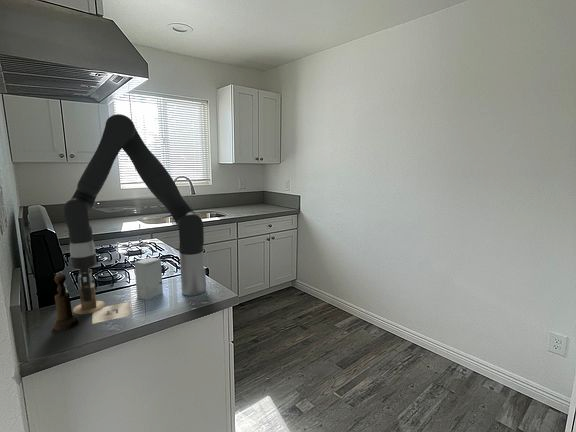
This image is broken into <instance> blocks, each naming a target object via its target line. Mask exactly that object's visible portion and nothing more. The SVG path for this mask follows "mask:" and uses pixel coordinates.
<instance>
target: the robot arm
mask: <svg viewBox="0 0 576 432" xmlns="http://www.w3.org/2000/svg"><path fill="white" fill-rule="evenodd" d="M121 150H123V151H124V152H125V154H126V155H127V157H128V158H129V159H130V160H131V163H132V164H133V167H134V168H135V170H136V172H137V174H138V175H139V177H140V179H141V181H143V183H144V185H145V186H146V187H147V189H148V190H149V191H150V192H151V193H152V194H153V196H154V198H156V199H157V200H158V201H159V202H160V203H161V204H162V205H163V206H164V207H165V208H166V210H168V212H169V214H170V216H171V217H172V219H173V220H174V223H175V224H176V226H177V228H178V235H179V246H178V251H179V267H180V268H179V269H180V283H181V285H180V286H181V294H182V295H183V296H187V297H188V296H189V297H193V296H199V295H201V294H203V293H206V292H207V277H206V271H207V270H206V269H205V264H204V263H205V262H204V261H205V259H204V244H205V240H204V239H205V238H204V223H203V220H202V218H201V217H200V216H199V215H198V214H197V213H196V212H195V211H194V210H193V209H192V208H191V206H189V204H188V203H187V202H186V201H185V200H184V198H183V197H182V194H181V192H180V190H179V188H178V186H177V184H176V183H175V181H174V179H173V178H172V176H171V174H170V173H169V172H168V169H166V168H165V166H164V165H163V163H162V162H161V161H160V160H159V159H158V158H157V157H156V156H155V155H154V153H153V152H152V151H151V150H150V149H149V147H147V145H146V144H145V142H144V140H143V139H142V137H141V135H140V134H139V132H138V130H137V128H136V126H135V124H134V122H133V120H132V119H131V118H130V117H128V116H127V115H125V114H121V113H116V114H112V115H110V116H109V117H108V118H107V119H106V121H105V127H104V130H103V132H102V135H101V139H100V141H99V144H98V146H97V148H96V150H95V152H94V154H93V156H92V158H91V159H90V161H89V162H88V164H87V165H86V167H85V169H84V171H83V173H82V175H81V177H80V178H79V180H78V182H77V185H76V190H75V192H74V193H73V195H72V197H71V198H70V199H69V200H67V201H66V202H65V204H64V205H63V215H64V216H63V217H64V220H65V224H66V227H67V229H68V239H69V254H70V262H71V268H72V269H74V270H78V278H79V284H80V285H81V286H82V292H83V294H84V301H85V302H88V301H91V300H92V298H91V286H90V285H91V284H92V283H93V281H92V279H93V277H92V276H93V269H91V268H93V267H94V266H95V267H96V265H97V256H96V245H95V242H94V237H93V229H92V226H91V224H90V221H89V220H90V219H89V214H90V212H91V210H92V208H93V206H94V204H95V201H96V199H97V197H98V194H99V193H100V192H101V191H102V188H103V186H104V184H105V182H106V181H107V179H108V177H109V175H110V171H111V170H112V168H113V165H114V163H115V161H116V159H117V156H118V155H119V153H120V152H121ZM80 285H79V286H80ZM84 286H88V287H89V288H85V289H84Z"/></svg>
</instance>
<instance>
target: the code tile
mask: <svg viewBox="0 0 576 432" xmlns="http://www.w3.org/2000/svg"><path fill="white" fill-rule="evenodd" d="M91 314H92V315H91V316H92V318H91V324H92V325H94V324H99V323H102V322H106V321H112V320H116V319H120V318H125V317H129V316H132V314H133V313H132V309H131V305H130V302H129V301H127V302H121V303H117V304H113V305H107V306H106V305H105V306H104V307H103V308H102V309H100V310H98V311H96V312H93V313H91Z"/></svg>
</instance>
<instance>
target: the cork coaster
mask: <svg viewBox="0 0 576 432" xmlns="http://www.w3.org/2000/svg"><path fill="white" fill-rule="evenodd" d="M103 307H106V303H105V301H102V300H96V308H92V309H88V310H83V311H82V308H81V303H80V304H78V305H76V306H75V307H74V308H73V309H72V313H74V314H76V315H88V314H92V313H93V312H96V311H98V310H100V309H102V308H103Z"/></svg>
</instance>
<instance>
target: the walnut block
mask: <svg viewBox="0 0 576 432" xmlns="http://www.w3.org/2000/svg"><path fill="white" fill-rule="evenodd" d="M90 286H91V298H92V300H91V301H88V302H85V301H84V294H83V292H82V286H81V285H79V286H78V287H79V289H78V291H79V298H80V304H81V308H82V311H83V310H88V309H92V308H96V301H97V298H96V288H95V282H92V284H91V285H90ZM85 288H89V287H88V286H84V289H85Z"/></svg>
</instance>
